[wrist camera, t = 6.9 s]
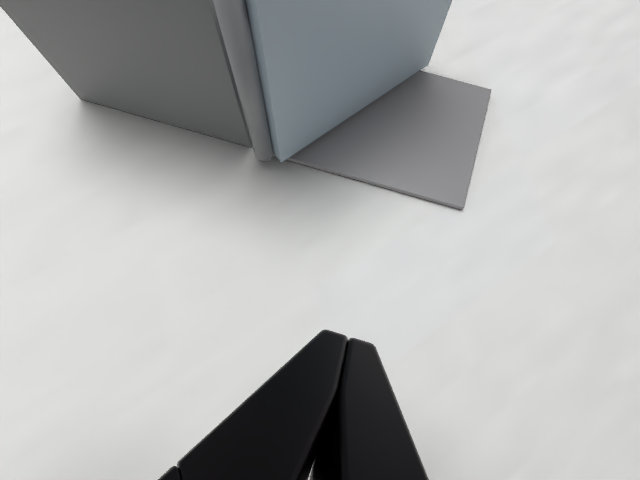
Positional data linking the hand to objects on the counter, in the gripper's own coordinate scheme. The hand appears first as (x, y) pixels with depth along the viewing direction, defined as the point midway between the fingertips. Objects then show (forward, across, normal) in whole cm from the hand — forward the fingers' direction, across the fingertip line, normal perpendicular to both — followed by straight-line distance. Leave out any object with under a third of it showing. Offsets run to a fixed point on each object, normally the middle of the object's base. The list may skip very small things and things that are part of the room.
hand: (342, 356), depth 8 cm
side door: (+15, +2, 0) cm, 15 cm away
